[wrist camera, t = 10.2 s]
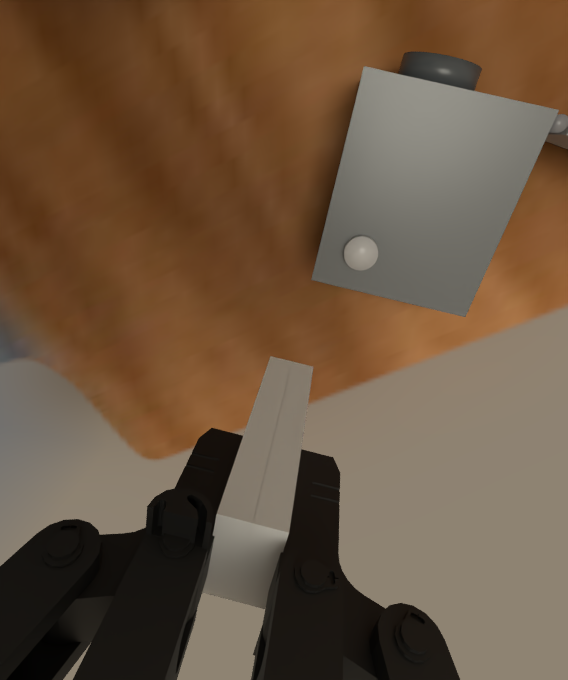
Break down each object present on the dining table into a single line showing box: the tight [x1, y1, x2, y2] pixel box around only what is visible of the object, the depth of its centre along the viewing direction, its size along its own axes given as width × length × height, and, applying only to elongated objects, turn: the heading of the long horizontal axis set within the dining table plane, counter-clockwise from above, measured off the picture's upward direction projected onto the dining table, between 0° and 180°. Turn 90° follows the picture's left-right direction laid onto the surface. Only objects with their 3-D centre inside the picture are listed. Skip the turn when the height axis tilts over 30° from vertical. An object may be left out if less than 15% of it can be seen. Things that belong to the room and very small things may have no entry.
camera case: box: [311, 52, 568, 317], centre depth 31 cm, size 16×13×9 cm
